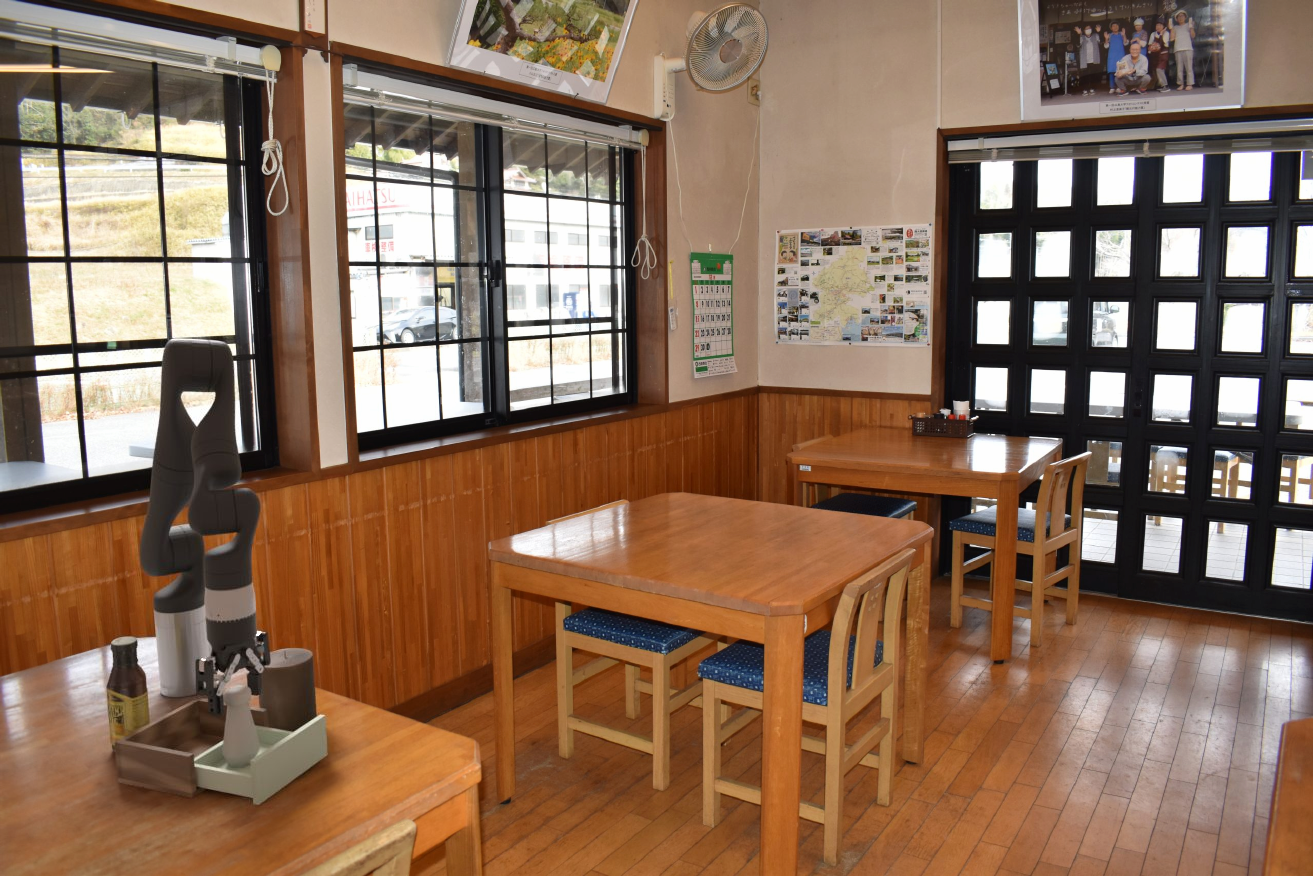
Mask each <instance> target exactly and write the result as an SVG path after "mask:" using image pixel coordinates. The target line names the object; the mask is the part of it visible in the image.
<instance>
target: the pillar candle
mask: <svg viewBox="0 0 1313 876" xmlns="http://www.w3.org/2000/svg"><path fill="white" fill-rule="evenodd" d="M261 657H262V658H263V655H261ZM270 659H271V663H270V665H268V666H265V667H264V670H263V672H262V673H261V677H262V689H261V694H259V695H258V705H259V707H258V708H263V709H267V711H268V727H269V728H274V729H280V730H285V731H291V732H294V731H296V730H297V729H299V728H301V727H302V726H304V725H305V724H307V723H308V722H310V721H311V720H313V719H314V718H316V717H317V716H318V714H317V713H318V712H317V710H318V709H317V698H316V687H315V686H316V683H315V680H316V679H315V668H314V653H313V652H312V651H311V650H309V649H307V648H306V649H305V648H298V647H294V648H293V647H291V648H282V649H278V650H275V651H270Z"/></svg>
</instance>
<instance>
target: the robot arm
mask: <svg viewBox="0 0 1313 876" xmlns="http://www.w3.org/2000/svg"><path fill="white" fill-rule="evenodd" d="M234 361H235V360H234V356H233V352H232V349H231V347H230V345H229V344H228V343H226V342H224V341H220V340H212V339H197V338H194V339H193V338H172V339H170V340H168V341H167V343H166V344H165V346H164V348H163V353H162V361H161V372H160V373H161V375H160V396H159V397H160V400H159V401H160V402H159V416H158V424H157V425H158V426H157V429H156V431H157V432H156V437H155V443H154V449H153V450H154V451H153V458H152V466H151V480H150V491H149V492H150V493H149V500H148V505H147V510H146V516H145V520H144V524H143V527H142V532H141V536H140V537H141V538H140V543H139V562H140V566H141V568H142V570H143V572H144V573H145V574H146V575H147V576H150V577H154V578H155V577H165V576H171V575H176V574H179V575H178V576H177V578H175V579H174V581H172V582H171V583H170V584H168V585H166V586H164V587H163V588H161V589H160V590H157V591H156V592H155V594H154V595H153V598H152V599H153V600H152V603H153V617H154V628H155V639H156V641H155V642H156V651H157V663H158V675H159V678H158V679H159V688H160V694H161V695H163V696H165V697H168V698H184V697H189V696H194V695H198V696H204V697H207V699H208V710H209V713H210V714H211V716H215V717H221V716H223V715H224V700H223V694H224V691H225V690H224V689H225V687H226V684H227V683H229V682H230V681H231V679H232V676H233V675H234V674H236V673H238V672H239V670H243V669H246V671H247V673H246V684H247V685H246V686H247V687H249V688H250V689H251V696H258V697H259V694H261V689H262V677H261V673H262V672H263V670H264V667H265V666H268V665H270V663H271V659H270V652H271V651H270V650H271V649H270V642H269V640H270V639H269V632H265V631H262V630H261V631H260V630H258V626H257V625H258V622H257V620H258V619H257V609H256V607H257V606H256V605H257V604H256V594H255V593H256V592H255V588H254V583H253V569H252V568H253V567H252V566H253V565H252V564H253V563H252V556H253V555H252V553H253V545H254V539H255V535H256V531H257V528H258V525H259V521H260V517H261V501H260V499H259V496H258V494H257V493H256V492H255V491H253V489H251V488H248V487H237V488H231V487H233V486H235V485H236V484H237V483H238V482H239V481H240V480H241V478H242V466H241V459H240V454H239V453H240V452H239V448H238V443H237V433H236V390H235V389H236V387H235V386H236V383H235V378H236V377H235V363H234ZM184 392H186V393H187V392H188V393H189V392H190V393H191V392H193V393H214V400H213V402H212V405H211V406H210V408H209V409H208V411H207V412H206V414H205V415H204V416H203V417H202V419H200V421H199V423H198V424H197V425H196V423H195V422H194V421H193V419H192V418H191V416H190V415H189V412H188V410H187V409H186V407H185V405H184V402H183V399H182V394H183V393H184ZM187 505H188V506H187ZM186 507H188V508H187V522H188V523H184V524H178V525H173V523H174V522H175V520H176V519H177V517H178V516H179V514H180V513H181V512H182V511H183V510H184V509H185V508H186ZM235 533H236V534H235ZM226 534H235V536H234V538H233V539H232V540H231V541H229V542H227V543H225V544H221V545H218V546H215V547H212V548H211V549H209V550H207V551H206V547H205V540H204V537H209V536H216V535H217V536H218V535H226ZM261 656H263V658H262V657H261ZM218 672H221V674H222V675H221V674H218ZM217 681H218V683H217ZM216 683H217V686H216V687H215V685H216Z"/></svg>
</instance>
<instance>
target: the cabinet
mask: <svg viewBox="0 0 1313 876" xmlns="http://www.w3.org/2000/svg"><path fill="white" fill-rule="evenodd" d="M227 706H228V705H226V704H224V715H223V716H221V717H215V716H211V714H210V713H209V710H208V698H204V697H196V698H194V699H192V700H191V701H189V702H187V703H185V704H183V705H181V706H179V707H178V708H175V709H174V710H172V711H170V712H168V713H166V714H165V715H163V716H161V717H158V719H156V720H154V721H150V723H149V724H148V725H146V726H144V727H142V728H140V729H138V730H136V731H135V732H133V733H131V734H129V735H127V736H125V737H123V738H121V739H120V740H118V741H116V742H114V743H115V752H114V753H115V763H116V774H117V775H116V776H117V783H118V782H119V784H123V783H124V784H125V785H128V784H131V785H130V786H133V785H135V786H134V787H138V786H139V787H138V788H142V787H144V788H143V789H148V790H152V791H157V792H161V793H166V792H167V794H171V793H173V794H172V795H176V794H177V795H176V796H180V795H181V797H186V798H190V799H193V798H194V797H196V796H197V795H199V794H201V793H202V792H204V791H205V790H206V789H207V788H202V787H197V786H196V777H195V764H194V758H195V757H197V756H199V755H200V754H202V753H204V752H205V751H207V750H209V749H210V748H212V747H213V746H215V745H217V744H218V743H220V742H222V741H223V740H224V732H225V723H226V715H227ZM249 707H250V710H251V714H252V718H253V721H254V725H257V726H263V727H268V711H267V709H263V708H260V707H256V706H251V705H249ZM268 728H269V727H268ZM124 784H123V785H124Z"/></svg>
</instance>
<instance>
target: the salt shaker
mask: <svg viewBox="0 0 1313 876" xmlns="http://www.w3.org/2000/svg"><path fill="white" fill-rule="evenodd" d="M222 694H223V700H224V704H226V705H228V706H227V715H226V723H225V732H224V741H223V748H222V755H223V757H224V758H225V760H226V761H227V762H228V764H229V766H230V767H232V768H243V767H246V766H249V765H251V763H250V760H252V759H254V758H255V757H256V756H257V754H258V751H259V747H260V743H259V739H258V736H257V732H256V728H255V725H254V721H253V718H252V714H251V710H250V707H249V706H250V704H249V702H250V701H251V700H252V695H251V689H250V688H249V687H247V685H244V684H237V685H232V686H229V687H228V688H226V689H225V690H223V693H222Z"/></svg>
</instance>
